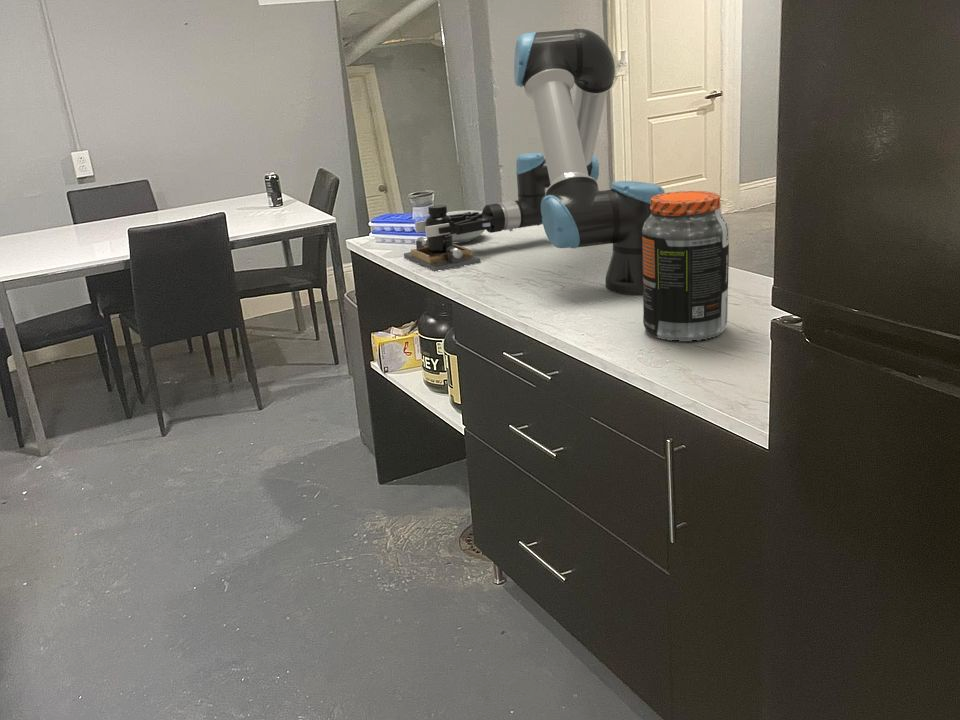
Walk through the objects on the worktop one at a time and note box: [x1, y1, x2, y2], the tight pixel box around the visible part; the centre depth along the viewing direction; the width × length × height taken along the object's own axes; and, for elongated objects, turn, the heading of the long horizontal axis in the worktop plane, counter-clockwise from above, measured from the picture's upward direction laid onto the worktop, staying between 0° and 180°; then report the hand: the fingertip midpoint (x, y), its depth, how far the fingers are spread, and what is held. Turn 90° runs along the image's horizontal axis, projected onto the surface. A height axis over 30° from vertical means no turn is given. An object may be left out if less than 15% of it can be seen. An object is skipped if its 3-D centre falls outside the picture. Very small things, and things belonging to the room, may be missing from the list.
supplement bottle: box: [425, 204, 453, 254], centre depth 237 cm, size 7×7×12 cm
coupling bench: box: [403, 236, 482, 272], centre depth 239 cm, size 21×13×5 cm, turn 28°
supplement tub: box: [642, 190, 730, 342], centre depth 169 cm, size 16×16×26 cm
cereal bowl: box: [446, 209, 486, 243], centre depth 260 cm, size 17×17×7 cm
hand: (420, 229), depth 235 cm, fingers closed on supplement bottle, 7 cm apart
